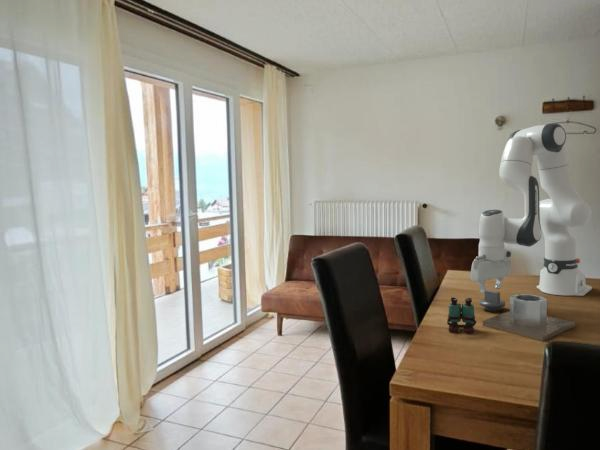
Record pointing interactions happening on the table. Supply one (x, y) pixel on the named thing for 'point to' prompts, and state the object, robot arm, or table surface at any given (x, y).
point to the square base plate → (529, 318)
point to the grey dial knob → (492, 301)
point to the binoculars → (456, 315)
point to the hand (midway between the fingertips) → (490, 290)
